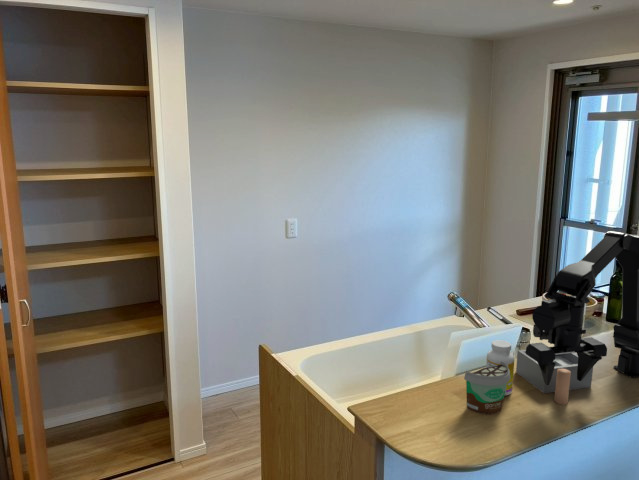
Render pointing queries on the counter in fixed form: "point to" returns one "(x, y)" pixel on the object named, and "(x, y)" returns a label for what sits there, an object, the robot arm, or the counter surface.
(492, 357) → the supplement bottle
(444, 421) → the counter surface
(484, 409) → the food container
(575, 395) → the counter surface
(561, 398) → the peg
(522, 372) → the bore box
